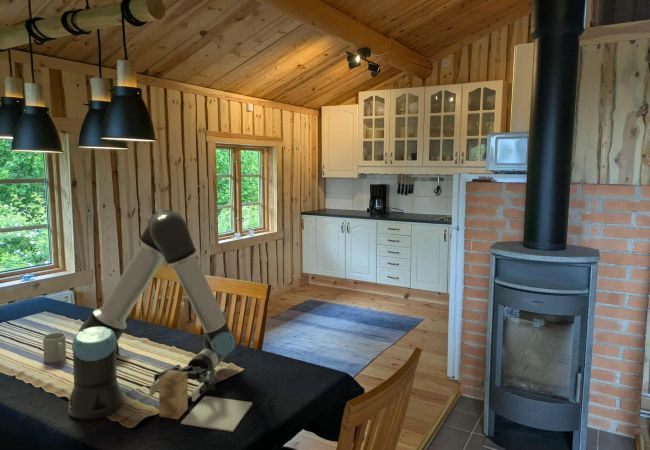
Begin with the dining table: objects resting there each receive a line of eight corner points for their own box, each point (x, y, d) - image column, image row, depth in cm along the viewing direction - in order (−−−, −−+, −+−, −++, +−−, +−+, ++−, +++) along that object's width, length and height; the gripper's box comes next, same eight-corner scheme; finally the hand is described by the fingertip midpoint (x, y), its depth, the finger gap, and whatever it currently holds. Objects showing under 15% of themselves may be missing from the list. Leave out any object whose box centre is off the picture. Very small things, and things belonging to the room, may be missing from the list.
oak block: (159, 416, 141) (159, 378, 140) (169, 406, 147) (169, 369, 146) (177, 419, 140) (177, 380, 139) (187, 409, 146) (187, 372, 145)
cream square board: (180, 423, 138) (180, 422, 138) (205, 397, 154) (205, 395, 154) (232, 431, 135) (232, 430, 135) (252, 403, 151) (252, 402, 151)
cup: (61, 353, 182) (60, 331, 181) (72, 361, 176) (72, 338, 175) (40, 359, 177) (39, 336, 175) (51, 367, 170) (50, 343, 169)
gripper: (237, 379, 160) (211, 411, 139) (169, 370, 165) (133, 400, 144) (237, 358, 159) (211, 387, 138) (169, 349, 164) (133, 377, 143)
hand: (171, 394), depth 141 cm, fingers open, 13 cm apart
